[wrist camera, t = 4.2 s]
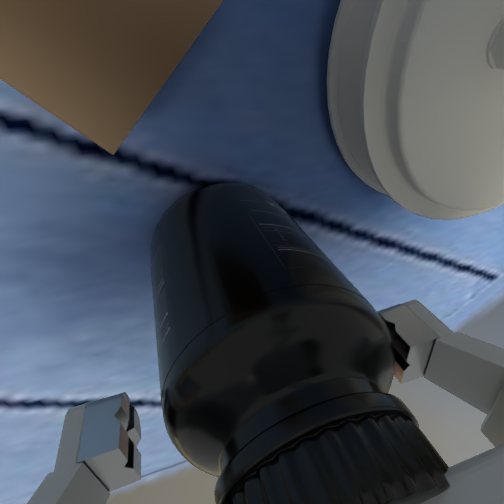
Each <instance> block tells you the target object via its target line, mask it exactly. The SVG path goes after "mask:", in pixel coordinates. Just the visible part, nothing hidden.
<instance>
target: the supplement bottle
mask: <svg viewBox="0 0 504 504" xmlns="http://www.w3.org/2000/svg"><path fill="white" fill-rule="evenodd" d="M150 257H151V275H152V288H153V301H154V314H155V326H156V339H157V352H158V365H159V378H160V390H161V402H162V410H163V417H164V423H165V427H166V430H167V433H168V435H169V437H170V439H171V441H172V443H173V444H174V445H175V447H176V448H177V450H178V451H179V452H180V453H181V455H182V456H183V457H184V458H185V459H186V460H187V461H188V462H190V463H191V464H192V465H194V466H195V467H196V468H198V469H199V470H201V471H203V472H205V473H208V474H210V475H213V476H216V477H219V478H218V480H217V483H216V487H215V502H216V504H420V503H422V502H425V501H427V500H429V499H431V498H433V497H435V496H437V495H439V494H441V493H443V492H444V491H446V490H447V489H448V488H449V487H450V484H449V482H448V481H447V479H446V477H445V475H444V474H445V473H446V472H447V470H448V468H449V467H448V466H447V464H446V463H445V462H444V461H443V459H442V458H441V456H439V454H438V452H437V451H436V450H435V448H434V447H433V446H432V444H431V443H430V442H429V440H428V439H427V438H426V436H425V435H424V434H423V433H422V431H421V430H420V429H419V424H418V422H417V420H416V418H415V417H414V415H413V414H412V413H411V412H410V410H409V409H408V408H407V407H406V405H405V404H404V403H403V402H402V401H401V400H400V399H399V398H398V397H396V396H394V395H391V394H388V392H389V389H390V386H391V383H392V380H393V376H394V368H395V355H394V348H393V343H392V338H391V335H390V333H389V330H388V328H387V326H386V324H385V322H384V320H383V319H382V318H381V316H380V315H379V314H378V313H377V311H376V310H375V309H374V308H373V306H372V305H371V304H370V303H369V302H368V301H367V300H366V298H365V297H364V296H363V295H362V294H361V293H360V292H359V291H358V290H357V289H356V287H355V286H354V285H353V284H352V283H351V282H350V281H349V280H348V279H347V278H346V277H345V276H344V274H343V273H342V272H341V271H340V270H339V269H338V268H337V267H336V266H335V265H334V264H333V262H332V261H331V260H330V259H329V258H328V257H327V256H326V255H325V254H324V253H323V252H322V251H321V249H320V248H319V247H318V246H317V245H316V244H315V243H314V242H313V241H312V240H311V239H310V237H309V236H308V235H307V234H306V233H305V232H304V231H303V230H302V229H301V228H300V227H299V226H298V224H297V223H296V222H295V221H294V220H293V219H292V218H291V217H290V216H289V215H288V214H287V212H286V211H285V210H284V209H283V208H282V207H281V206H280V205H279V204H278V203H277V202H276V201H275V200H273V199H272V198H271V197H270V196H268V195H267V194H266V193H264V192H262V191H260V190H258V189H256V188H254V187H250V186H247V185H242V184H235V183H221V184H214V185H209V186H205V187H202V188H200V189H197V190H195V191H193V192H191V193H189V194H187V195H185V196H184V197H182V198H181V199H180V200H178V201H177V202H176V203H175V204H174V205H172V206H171V207H170V208H169V210H168V211H167V212H166V213H165V214H164V216H163V217H162V219H161V220H160V222H159V224H158V225H157V227H156V230H155V232H154V235H153V239H152V244H151V254H150Z"/></svg>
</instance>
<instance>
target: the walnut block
mask: <svg viewBox="0 0 504 504" xmlns="http://www.w3.org/2000/svg"><path fill="white" fill-rule="evenodd" d="M222 2H223V0H0V79H1V80H3V81H4V82H6V83H7V84H9V85H10V86H12V87H13V88H15V89H16V90H18V91H19V92H21V93H22V94H23V95H25V96H26V97H28V98H29V99H31V100H32V101H34V102H35V103H37V104H38V105H40V106H41V107H43V108H44V109H46V110H47V111H49V112H50V113H52V114H53V115H55V116H56V117H58V118H59V119H60V120H62V121H63V122H65V123H66V124H68V125H69V126H71V127H72V128H74V129H75V130H77V131H78V132H80V133H81V134H83V135H84V136H86V137H87V138H89V139H90V140H92V141H93V142H95V143H96V144H98V145H99V146H100V147H102V148H103V149H105V150H106V151H108V152H109V153H111V154H112V155H114V154H115V152H116V151H117V149H118V148H119V147H120V145H121V144H122V142H123V141H124V139H125V138H126V137H127V135H128V134H129V132H130V131H131V130H132V128H133V127H134V125H135V124H136V123H137V121H138V120H139V118H140V117H141V116H142V114H143V113H144V111H145V110H146V109H147V107H148V106H149V104H150V103H151V102H152V100H153V99H154V97H155V96H156V95H157V93H158V92H159V90H160V89H161V88H162V86H163V85H164V83H165V82H166V80H167V79H168V78H169V76H170V75H171V73H172V72H173V71H174V69H175V68H176V66H177V65H178V64H179V62H180V61H181V59H182V58H183V57H184V55H185V54H186V52H187V51H188V50H189V48H190V47H191V45H192V44H193V43H194V41H195V40H196V38H197V37H198V36H199V34H200V33H201V31H202V30H203V29H204V27H205V26H206V24H207V23H208V21H209V20H210V19H211V17H212V16H213V14H214V13H215V12H216V10H217V9H218V7H219V6H220V5H221V3H222Z"/></svg>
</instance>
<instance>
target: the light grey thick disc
mask: <svg viewBox="0 0 504 504" xmlns="http://www.w3.org/2000/svg"><path fill="white" fill-rule="evenodd" d="M327 102H328V110H329V116H330V122H331V127H332V130H333V133H334V137H335V140H336V143H337V146H338V148H339V150H340V152H341V154H342V156H343V158H344V160H345V161H346V163H347V164H348V165H349V167H350V168H351V170H352V171H353V172H354V173H355V174H356V175H357V176H358V177H359V178H360V179H361V180H362V181H363V182H364V183H365V184H367V185H369V186H370V187H372V188H373V189H375V190H376V191H378V192H380V193H383V194H385V195H388V196H390V197H391V198H392V199H393V200H394V201H395V202H396V203H397V204H399V205H400V206H402V207H403V208H405V209H407V210H409V211H411V212H413V213H415V214H417V215H419V216H423V217H427V218H431V219H442V220H450V219H460V218H465V217H470V216H474V215H478V214H481V213H483V212H486V211H489V210H491V209H494V208H496V207H498V206H500V205H502V204H504V0H341V1H340V5H339V8H338V11H337V15H336V18H335V22H334V27H333V32H332V37H331V43H330V48H329V56H328V69H327Z"/></svg>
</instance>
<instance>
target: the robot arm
mask: <svg viewBox="0 0 504 504" xmlns="http://www.w3.org/2000/svg"><path fill="white" fill-rule="evenodd" d="M377 313H378V314H379V315H380V316H381V318H382V319H383V320H384V322H385V324H386V326H387V328H388V330H389V333H390V335H391V338H392V343H393V348H394V355H395V368H394V376H395V377H396V378H397V379H398V380H399V382H400V383H401V384H402V383H405V382H408V381H411V380H414V379H417V378H420V377H423V376H424V378H426V379H428V380H429V381H431V382H433V383H434V384H436V385H438V386H439V387H441V388H443V389H445V390H446V391H448V392H450V393H451V394H453V395H455V396H456V397H458V398H460V399H462V400H463V401H465V402H467V403H469V404H470V405H472V406H474V407H475V408H477V409H479V410H480V411H482V412H484V413H486V414H487V416H486V418H485V420H484V422H483V424H482V425H481V431H482V433H484V435H485V436H486V437H487V438H488V439H489V440H490V442H491V443H492V444H493V445H494V446H495V448H493V449H490V450H488V451H486V452H484V453H481V454H479V455H477V456H474V457H472V458H470V459H467V460H465V461H463V462H460V463H458V464H456V465H454V466H452V467H449V468H448V470H447V472H446V473H445V474H444V475H445V477H446V479H447V481H448V482H449V484H450V487H449V488H448V489H447V490H446V491H444V492H443V493H441V494H439V495H437V496H435V497H433V498H431V499H429V500H427V501H425V502H422V503H420V504H504V349H503V348H500V347H498V346H495V345H492V344H490V343H487V342H484V341H482V340H479V339H476V338H474V337H471V336H468V335H466V334H463V333H460V332H455V333H454V332H453V331H452V330H450V329H449V328H448V327H447V326H446V325H445V324H444V323H443V322H441V321H440V320H439V319H438V318H437V317H436V316H435V315H434V314H433V313H431V312H430V311H429V310H428V309H427V308H426V307H425V306H424V305H422V304H421V303H420V302H419V301H417V300H412V301H409V302H406V303H403V304H398V305H395V306H392V307H389V308H386V309H383V310H380V311H377ZM140 440H141V427H140V421H139V416H138V413H137V411H136V409H135V407H133V406H130V405H129V397H128V395H127V394H126V392H124V393H120V394H117V395H114V396H110V397H107V398H103V399H100V400H96V401H93V402H90V403H86V404H83V405H80V406H76V407H73V408H70V409H69V410H68V412H67V414H66V415H65V420H64V425H63V430H62V434H61V439H60V444H59V449H58V454H57V459H56V464H55V469H54V472H52V473H49V474H48V475H47V476H46V477H45V479H44V480H43V482H42V483H41V485H40V486H39V487H38V489H37V490H36V492H35V493H34V494H33V496H32V497H31V499H30V500H29V501H28V503H27V504H106V502H107V500H108V498H109V495H110V493H109V492H111V491H113V490H116V489H118V488H121V487H123V486H126V485H128V484H131V483H133V482H136V481H138V480H141V454H140V452H139V451H138V449H137V445H138V443H139V441H140Z"/></svg>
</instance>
